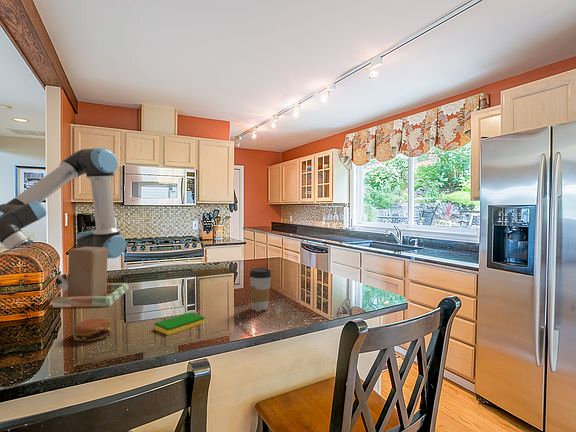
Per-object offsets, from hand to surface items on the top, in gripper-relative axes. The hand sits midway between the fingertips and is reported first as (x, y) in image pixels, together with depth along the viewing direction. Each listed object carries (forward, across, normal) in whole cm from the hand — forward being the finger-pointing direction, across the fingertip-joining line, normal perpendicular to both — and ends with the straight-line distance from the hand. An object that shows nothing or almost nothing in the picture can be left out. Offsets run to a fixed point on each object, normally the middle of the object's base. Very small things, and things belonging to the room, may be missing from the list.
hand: (68, 288), depth 128 cm
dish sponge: (+36, +34, +30) cm, 58 cm away
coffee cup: (+55, +19, +50) cm, 76 cm away
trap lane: (+9, -1, +4) cm, 10 cm away
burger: (+20, +40, +14) cm, 46 cm away
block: (+8, -1, +2) cm, 8 cm away
